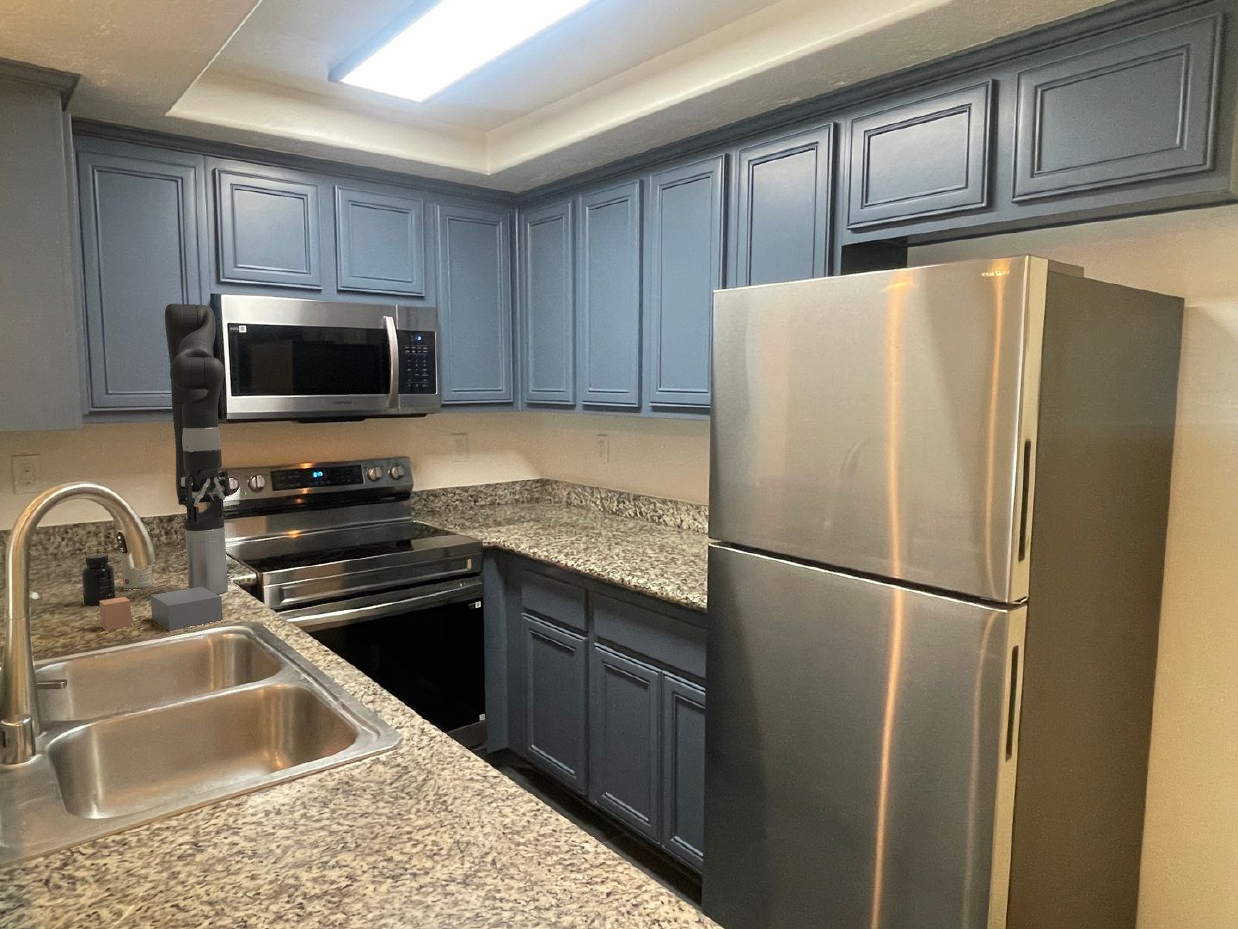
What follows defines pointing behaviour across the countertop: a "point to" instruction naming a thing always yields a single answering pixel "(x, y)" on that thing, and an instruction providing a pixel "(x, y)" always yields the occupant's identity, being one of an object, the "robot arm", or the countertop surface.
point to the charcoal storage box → (186, 608)
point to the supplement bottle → (97, 580)
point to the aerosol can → (135, 576)
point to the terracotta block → (115, 613)
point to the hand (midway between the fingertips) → (206, 520)
